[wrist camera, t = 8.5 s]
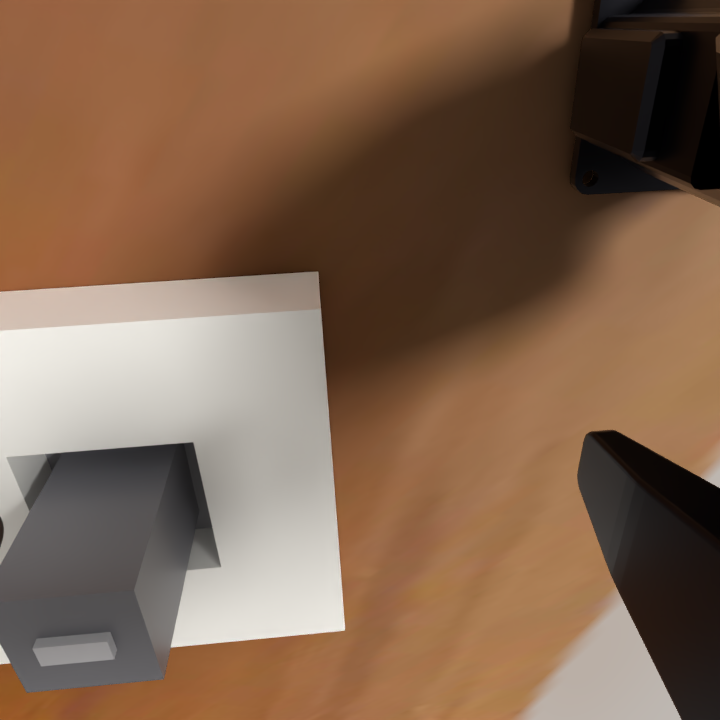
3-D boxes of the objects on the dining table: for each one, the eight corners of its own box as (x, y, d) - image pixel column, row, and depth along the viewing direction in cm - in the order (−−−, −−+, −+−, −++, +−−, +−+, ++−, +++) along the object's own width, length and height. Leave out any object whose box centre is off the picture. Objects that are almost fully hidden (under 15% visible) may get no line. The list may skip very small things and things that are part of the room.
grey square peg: (180, 431, 22) (131, 599, 15) (199, 510, 24) (162, 688, 17) (69, 439, 22) (-28, 613, 15) (97, 519, 24) (22, 702, 17)
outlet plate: (318, 271, 20) (320, 309, 17) (341, 572, 28) (344, 630, 25) (-143, 300, 19) (-213, 345, 17) (10, 603, 27) (-21, 666, 24)
